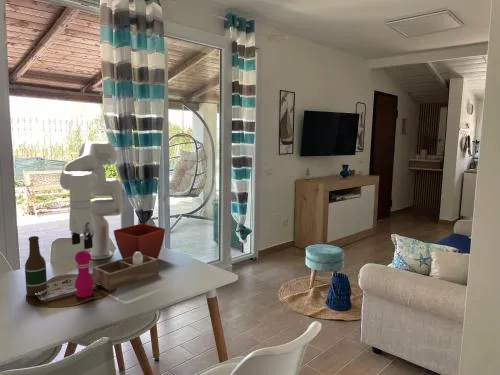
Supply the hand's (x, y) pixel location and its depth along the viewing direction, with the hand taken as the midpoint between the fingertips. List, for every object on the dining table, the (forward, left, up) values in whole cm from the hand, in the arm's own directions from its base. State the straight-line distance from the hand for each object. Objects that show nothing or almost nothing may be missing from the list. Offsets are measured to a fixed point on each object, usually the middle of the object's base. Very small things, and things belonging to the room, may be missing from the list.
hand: (82, 246), depth 151 cm
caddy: (0, +20, -21) cm, 29 cm away
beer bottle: (-16, -12, -21) cm, 29 cm away
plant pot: (-18, +40, -21) cm, 49 cm away
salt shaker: (0, +26, -20) cm, 33 cm away
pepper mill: (0, 0, -21) cm, 21 cm away
